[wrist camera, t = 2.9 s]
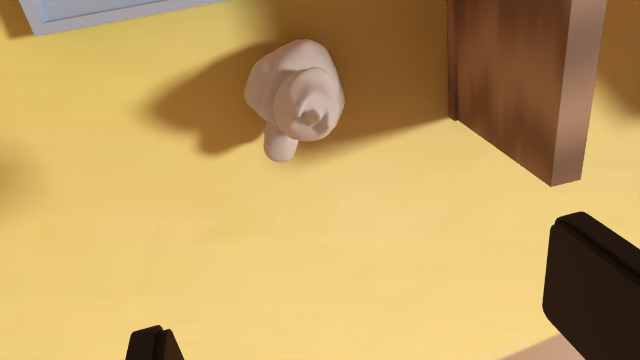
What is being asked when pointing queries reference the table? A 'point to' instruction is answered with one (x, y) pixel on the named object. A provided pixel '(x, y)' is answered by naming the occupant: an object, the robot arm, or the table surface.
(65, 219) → the table surface
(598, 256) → the robot arm
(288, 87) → the beige rounded figurine
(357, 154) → the table surface
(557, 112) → the walnut l-shaped block
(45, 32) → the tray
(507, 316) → the table surface
